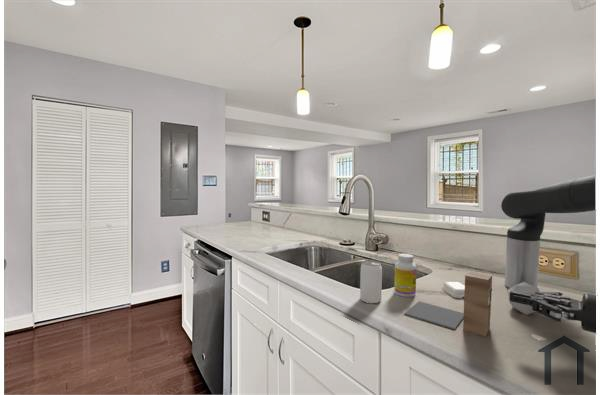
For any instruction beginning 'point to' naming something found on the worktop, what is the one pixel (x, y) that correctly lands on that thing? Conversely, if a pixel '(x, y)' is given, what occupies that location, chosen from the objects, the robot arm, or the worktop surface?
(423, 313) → the mat
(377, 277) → the can
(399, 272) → the supplement bottle
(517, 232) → the robot arm
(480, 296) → the brown wooden block
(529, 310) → the die
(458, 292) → the soap
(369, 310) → the worktop surface
